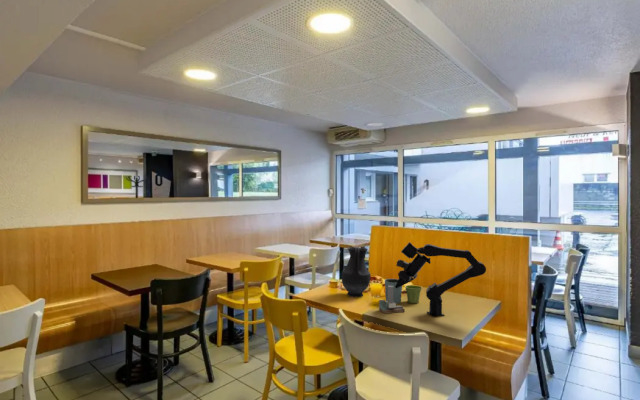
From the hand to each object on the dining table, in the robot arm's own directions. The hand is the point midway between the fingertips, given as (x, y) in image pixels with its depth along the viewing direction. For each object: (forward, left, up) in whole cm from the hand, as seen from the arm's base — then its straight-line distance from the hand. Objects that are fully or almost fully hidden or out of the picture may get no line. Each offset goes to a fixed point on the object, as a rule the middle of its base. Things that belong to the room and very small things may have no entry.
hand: (398, 286), depth 192 cm
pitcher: (+30, +13, -12) cm, 35 cm away
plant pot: (+13, -16, -12) cm, 24 cm away
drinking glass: (+16, -5, -12) cm, 21 cm away
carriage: (-1, +5, -10) cm, 11 cm away
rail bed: (-1, +4, -12) cm, 13 cm away
